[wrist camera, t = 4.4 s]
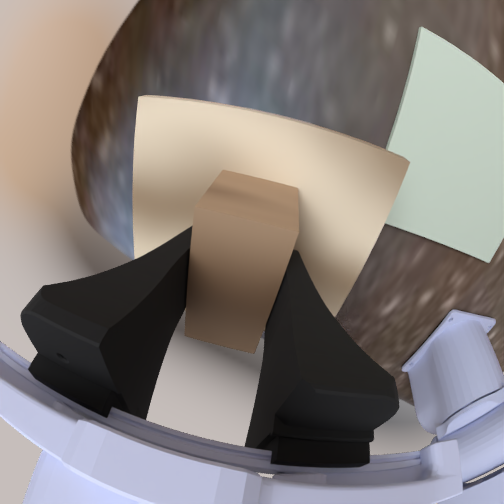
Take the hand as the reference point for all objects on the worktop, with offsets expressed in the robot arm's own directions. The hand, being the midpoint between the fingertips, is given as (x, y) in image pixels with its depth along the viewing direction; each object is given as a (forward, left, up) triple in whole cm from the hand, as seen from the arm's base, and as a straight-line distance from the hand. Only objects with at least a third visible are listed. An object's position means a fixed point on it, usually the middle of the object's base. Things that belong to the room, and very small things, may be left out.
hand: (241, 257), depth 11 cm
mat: (+7, -13, -7) cm, 16 cm away
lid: (0, 0, -2) cm, 2 cm away
